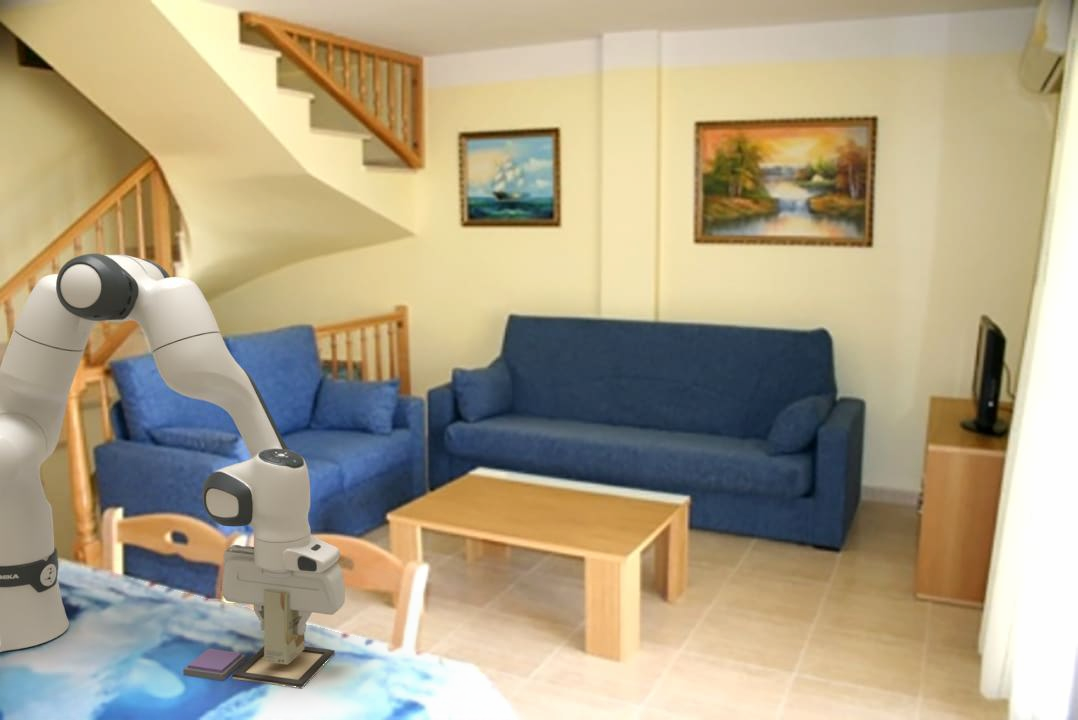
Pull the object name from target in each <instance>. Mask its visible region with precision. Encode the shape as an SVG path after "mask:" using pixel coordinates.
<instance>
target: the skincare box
mask: <svg viewBox="0 0 1078 720" xmlns="http://www.w3.org/2000/svg"><path fill="white" fill-rule="evenodd" d="M301 618H302V616H299V611H298V610H291V609H290V607H289V592H285V591H278V590H270V589H265V590H264V630H263V631H264V632H263V636H264V637H263V639H264V640H263V643H264V644H263V645H264V646H263V647H264V661H265V662H272V663H279V664H286V665H287V664H289V663H290V662H291V661H292V660H294V659H295V658H296V657H297V656H298V655H299V654H300V653H301V652H302V651H303V650H304V646H305V633H304V634H303V635H295V634H293V624H295V623H296V622H297V621H300V620H301Z"/></svg>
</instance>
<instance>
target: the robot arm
mask: <svg viewBox="0 0 1078 720" xmlns="http://www.w3.org/2000/svg"><path fill="white" fill-rule="evenodd" d="M131 321H133V322H135V323H137V324H138V325H139V326H140V328H142V330H143V332H144V334H145V336H146V338H147V342H148V345H149V347H150V351H151V353H152V357H153V360H154V363H155V366H156V369H157V370H158V373H159V375H160V376H161V379H162V380H163V382H164V383H165V385H166V386H167V387H168V388H169V389H171V390H172V391H174V392H175V393H177V394H180V395H181V396H185V397H187V398H189V399H195V400H199V401H204V402H208V403H211V404H213V405H216V406H218V407H220V408H221V409H223V410H224V411H225V412H227V413H228V415H229V416H230V417H231V419H232V420H233V422H234V424H235V426H236V428H237V430H238V432H239V434H240V436H241V439H242V440H243V442H244V444H245V447H246V449H247V450H248V452H249V455H250V459H248V460H244V461H242V462H237V463H234V464H231V465H227V466H225V467H222V468H220V469H217V470H216V471H214V472H211V473H210V474H209V475H208V476H207V477H206V479H205V480H204V483H203V486H202V492H201V497H202V498H201V499H202V503H203V507H204V510H205V512H206V513H207V515H208V517H209V518H210V519H211V520H212V521H214V522H215V523H217V524H219V525H220V526H222V527H224V526H225V527H245V526H250V527H252V528H253V546H248V545H247V546H245V545H240V544H232V545H231V546H229V547H227V548H226V549H225V551H224V553H223V565H224V570H223V575H222V586H221V594H222V596H223V598H224V599H225V601H227V602H229V603H238V604H247V605H253V612H254V614H255V615H256V616H257V618H258V620H259V622H260V630H261V631H264V590H265V589H270V590H278V591H285V592H289V607H290V609H291V610H298V611H299V616H302V618H301V620H300V621H297V622H296V623H295V624H293V634H295V635H303V634H304V635H305V633H306V631H307V622H308V620H309V619H310V617H311V614H313V613H315V614H316V613H317V614H321V615H331V616H332V615H335V614H336V613H337V612H338V611H339V610H340V609H341V608H342V607H343V606H344V603H345V601H346V590H345V579H344V574H343V569H342V567H341V566H340V565H339V564H338V563H337V561H338V560H339V559H340V556H341V555H340V553H341V552H340V549H339V547H338V546H335V545H333V544H330V543H328V542H325V541H324V540H321V539H320V538H317V537H316V536H314V535H312V533H311V531H312V530H311V526H310V523H309V512H310V509H311V485H310V484H311V483H310V474H309V470H308V466H307V463H306V461H305V458H304V457H303V456H302V455H301V454H299V453H297V452H296V451H293V450H291V449H289V447H288V446H287V444H286V442H285V441H284V439H283V437H282V434H281V432H280V431H279V429H278V427H277V425H276V423H275V421H274V418H273V417H272V414H271V412H270V411H269V410H270V409H269V408H268V406H267V404H266V402H265V400H264V398H263V396H262V394H261V392H260V389H259V388H258V387H257V385H256V383H255V382H254V379H253V378H252V376H251V375H250V373H249V372H248V371H247V370H246V369H244V368H243V367H241V366H240V364H238V362H237V361H236V360H235V358H234V357H233V356H232V354H231V352H230V351H229V349H228V347H227V345H226V343H225V340H224V339H223V336H222V334H221V331H220V328H219V324H218V323H217V320H216V318H215V316H214V313H213V311H212V309H211V307H210V305H209V303H208V301H207V300H206V298H205V296H204V294H203V292H202V291H201V289H200V288H199V286H198V285H197V283H196V282H195V281H193V280H191V279H189V278H186V277H183V276H182V277H181V276H170V274H169V273H168V271H166V269H164V268H163V267H162V266H161V265H159V264H157V263H156V262H154V261H152V260H149V259H145V258H139V257H135V256H131V255H127V254H102V253H86V254H80V255H79V256H76V257H75V256H74V257H73V258H71V259H69V260H68V261H67V262H65V263H64V265H63V266H62V267H61V268H60V270H59V272H58V273H52V274H47V275H46V276H43V277H42V278H40V279H39V280H38V281H37V282H36V283H35V285H34V287H33V289H32V290H31V291H30V293H29V295H28V297H27V298H26V301H25V302H24V304H23V306H22V309H21V310H20V313H19V315H18V317H17V320H16V322H15V325H14V328H13V331H12V333H11V336H10V338H9V342H8V344H7V347H6V350H5V352H4V354H3V359H2V360H1V361H2V362H1V364H0V653H2V652H7V651H15V650H21V649H26V648H30V647H34V646H38V645H40V644H44V643H47V642H49V641H52V640H53V639H55V638H58V637H59V636H61V635H62V634H64V633H65V632H66V631H67V629H69V627H70V621H69V619H68V616H67V614H66V611H65V606H64V603H63V600H62V599H63V598H62V594H61V589H60V585H59V579H58V574H59V573H58V572H59V555H58V549H57V548H56V547H55V537H54V535H55V533H54V521H53V508H52V505H51V503H50V502H49V500H48V499H47V497H46V494H45V490H44V487H43V483H42V479H41V466H42V464H43V463H44V462H45V461H47V459H49V458H50V457H51V456H52V455H53V453H54V452H55V450H56V448H57V445H58V443H59V439H60V436H61V430H62V427H63V422H64V420H65V415H66V409H67V404H68V400H69V394H70V391H71V388H72V385H73V384H74V383H73V382H74V380H75V377H76V375H77V372H78V368H79V367H80V364H81V361H82V358H83V354H84V353H85V349H86V347H87V343H88V341H89V338H90V335H91V333H92V331H93V328H94V327H95V326H96V325H97V323H99V322H108V323H124V322H131Z"/></svg>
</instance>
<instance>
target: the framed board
mask: <svg viewBox="0 0 1078 720" xmlns="http://www.w3.org/2000/svg"><path fill="white" fill-rule="evenodd" d="M333 654H334V655H335V649H329V648H320V647H313V646H306V645H304V650H303V651H302V652H301V653H300V654H299V655H298V656H297V657H296V658H295V659H294V660H292V661H291V662H290V663H289V664H287V665H286V664H279V663H272V662H265V661H264V646H263V647H261V648H260V649H259V650H258V651H257V652H255V653H254V654H253V655H252V656H251V657H250V658H249V659H247V660H246V661H245V662H244V663H243V664H242V665H240V666H239V667H238V668H237V669H236V670H235V671H234V672H232V673H231V678H232V679H234V680H241V681H247V682H253V683H259V684H266V685H267V684H268V685H273V684H274V685H273V686H280V685H285V686H284V687H287V686H296V687H303V686H304V684H305V683H306V682H307V681H308V680H309V679H310V678H311V677H312V676H313V675H314V674H315V673H316V672H317V671H318V670H319V669H320V668H321V667H322V666H323V664H325V662H326V661H327V660H328V659H329V658H330V657H331V656H332V655H333ZM334 655H333V656H334ZM333 656H332V657H333ZM332 657H331V658H332ZM331 658H330V659H331ZM330 659H329V660H330ZM329 660H328V661H329ZM328 661H327V662H328ZM327 662H326V663H327ZM325 665H326V664H325ZM323 667H324V666H323ZM323 667H322V668H323ZM322 668H321V669H322ZM321 669H320V670H321ZM320 670H319V671H320ZM319 671H318V672H319ZM318 672H317V673H318ZM317 673H316V674H317ZM316 674H315V675H316ZM315 675H314V676H315ZM314 676H313V677H314ZM313 677H312V678H313ZM312 678H311V679H312ZM311 679H310V680H311ZM310 680H309V681H310ZM309 681H308V682H309ZM304 687H305V686H304ZM304 687H303V688H304Z"/></svg>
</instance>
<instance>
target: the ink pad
mask: <svg viewBox="0 0 1078 720" xmlns="http://www.w3.org/2000/svg"><path fill="white" fill-rule="evenodd" d="M246 662H247V655H246V654H243V653H242V652H237V651H229V650H223V649H222V650H221V649H217V648H216V649H214V648H207V649H206V650H205V651H203V652H202V653H201V654H200V655H198V656H197V657H196V658H195V659H194V660H192V661H191V662H190V663H189V664H187V665H186V666H185V667H184V668H183V670H182V671H183V676H190V677H196V678H202V679H209V680H214V681H215V680H216V681H217V680H218V681H223V682H224V681H225V680H226V679H227V678H228V677H229V676H230V675H232V674H233V673H234V672H235V671H237V670H238V669H239V668H240V667H241V666H242V665H243V664H244V663H246Z"/></svg>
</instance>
